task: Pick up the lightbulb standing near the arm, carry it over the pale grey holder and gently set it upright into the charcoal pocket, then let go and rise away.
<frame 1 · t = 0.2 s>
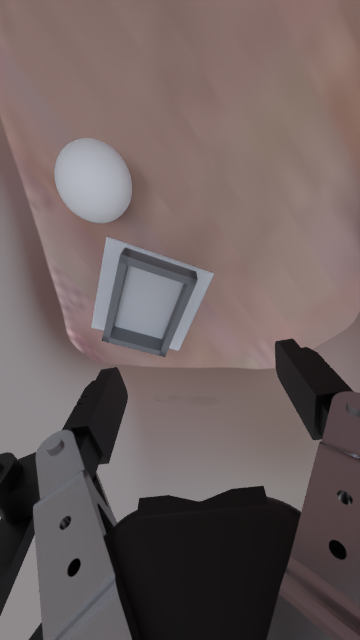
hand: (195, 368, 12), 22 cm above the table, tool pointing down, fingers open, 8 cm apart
lightbulb: (117, 180, 26), on the table
bulb holder: (148, 301, 35), on the table
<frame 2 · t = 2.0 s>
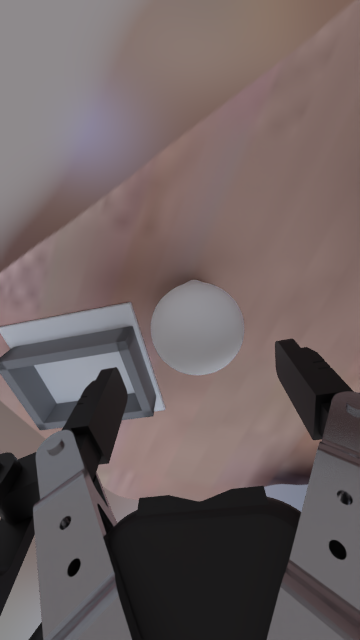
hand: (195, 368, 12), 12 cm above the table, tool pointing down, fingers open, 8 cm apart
lightbulb: (194, 289, 22), on the table
bulb holder: (89, 370, 27), on the table
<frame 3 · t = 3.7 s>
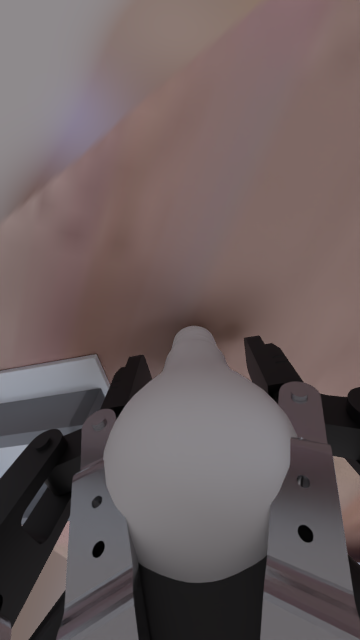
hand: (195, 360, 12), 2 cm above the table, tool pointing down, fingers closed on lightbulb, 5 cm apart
lightbulb: (193, 335, 15), on the table, touching gripper
bulb holder: (44, 441, 19), on the table
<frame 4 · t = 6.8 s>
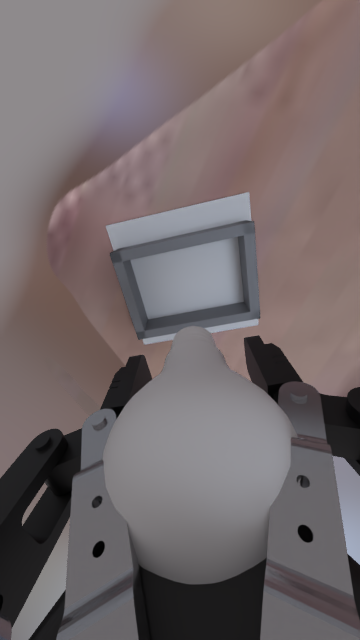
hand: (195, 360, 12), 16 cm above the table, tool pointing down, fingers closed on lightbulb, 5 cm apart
lightbulb: (192, 336, 15), point 14 cm above the table, touching gripper
bulb holder: (188, 278, 27), on the table
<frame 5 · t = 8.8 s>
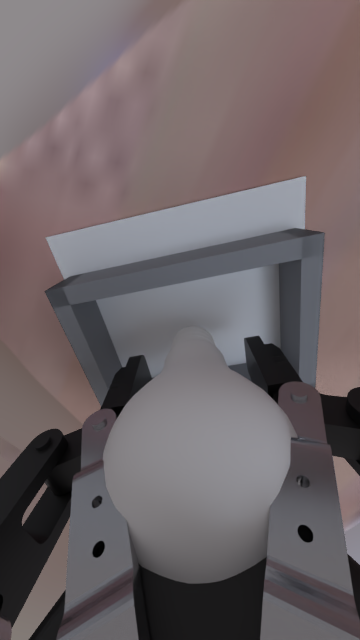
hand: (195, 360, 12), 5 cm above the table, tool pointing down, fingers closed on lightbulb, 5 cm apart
lightbulb: (192, 336, 15), point 2 cm above the table, touching gripper
bulb holder: (192, 322, 16), on the table
when the fingers open (3 cm above the table, at t = 10.1 s): lightbulb stays where it is, resting on bulb holder.
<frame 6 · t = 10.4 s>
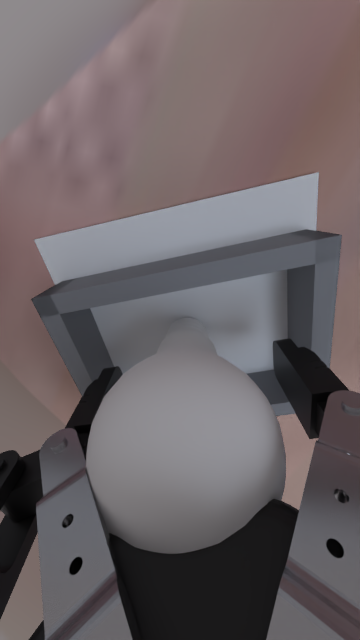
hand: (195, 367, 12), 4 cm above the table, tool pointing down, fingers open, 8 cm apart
lightbulb: (187, 328, 15), resting on bulb holder
bulb holder: (192, 330, 15), on the table
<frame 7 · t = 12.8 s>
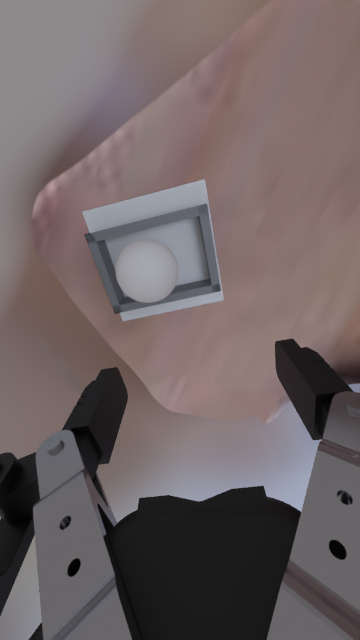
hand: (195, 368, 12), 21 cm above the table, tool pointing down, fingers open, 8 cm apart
lightbulb: (155, 257, 30), resting on bulb holder
bulb holder: (158, 258, 30), on the table
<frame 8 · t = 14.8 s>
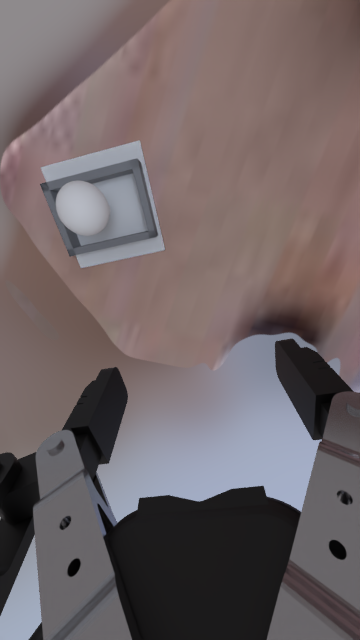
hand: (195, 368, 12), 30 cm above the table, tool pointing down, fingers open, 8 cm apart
lightbulb: (104, 209, 35), resting on bulb holder
bulb holder: (107, 211, 36), on the table
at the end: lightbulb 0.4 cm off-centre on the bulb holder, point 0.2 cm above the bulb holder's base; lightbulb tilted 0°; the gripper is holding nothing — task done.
